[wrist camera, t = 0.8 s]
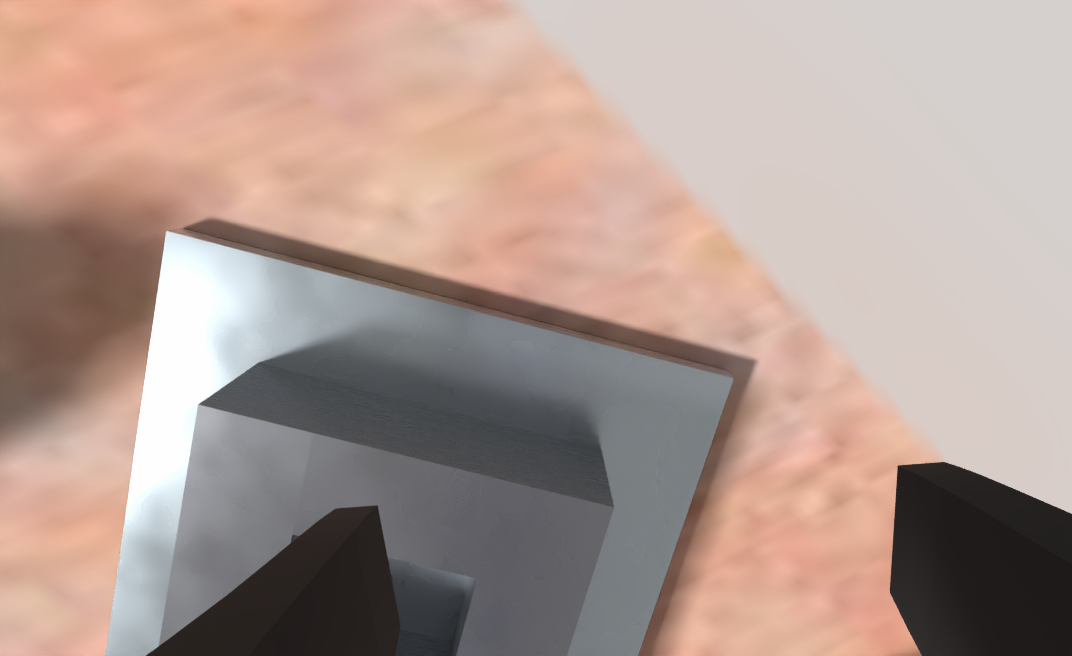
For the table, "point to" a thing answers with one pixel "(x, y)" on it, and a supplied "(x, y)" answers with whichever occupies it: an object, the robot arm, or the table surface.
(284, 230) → the table surface
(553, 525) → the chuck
